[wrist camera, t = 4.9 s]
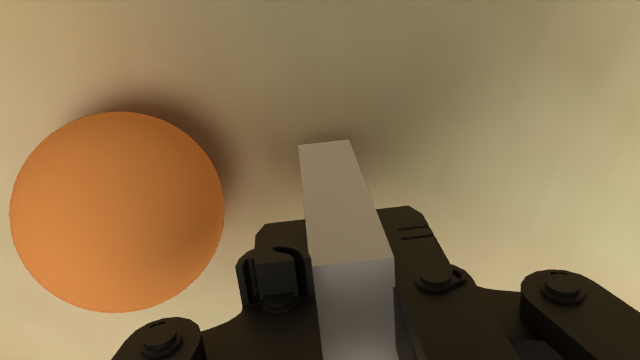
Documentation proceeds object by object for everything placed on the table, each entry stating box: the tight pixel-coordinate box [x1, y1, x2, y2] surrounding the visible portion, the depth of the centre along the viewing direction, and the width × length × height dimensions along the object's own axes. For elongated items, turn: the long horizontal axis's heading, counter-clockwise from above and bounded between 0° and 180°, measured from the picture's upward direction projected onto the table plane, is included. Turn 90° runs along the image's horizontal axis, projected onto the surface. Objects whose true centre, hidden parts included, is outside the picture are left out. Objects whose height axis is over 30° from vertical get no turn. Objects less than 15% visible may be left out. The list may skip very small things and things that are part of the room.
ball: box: [9, 111, 225, 313], centre depth 15 cm, size 6×6×6 cm
